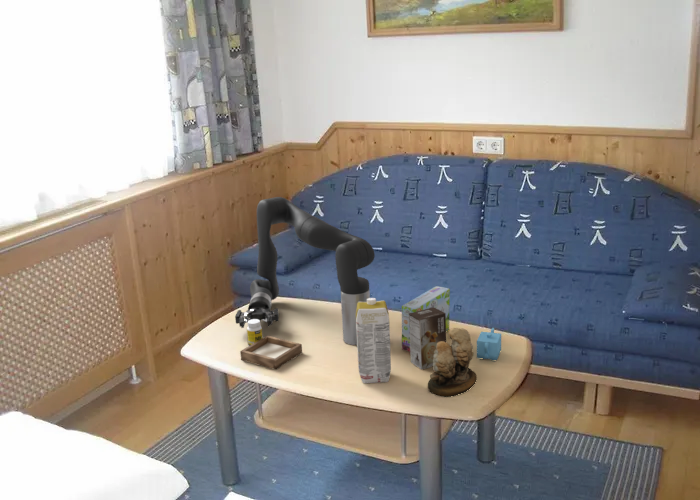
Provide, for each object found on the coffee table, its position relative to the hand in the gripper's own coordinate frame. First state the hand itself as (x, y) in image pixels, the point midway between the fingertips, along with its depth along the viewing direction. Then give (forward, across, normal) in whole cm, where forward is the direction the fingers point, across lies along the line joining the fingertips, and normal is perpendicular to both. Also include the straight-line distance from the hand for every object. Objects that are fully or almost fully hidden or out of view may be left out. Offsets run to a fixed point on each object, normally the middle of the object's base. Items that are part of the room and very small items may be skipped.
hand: (255, 324), depth 236 cm
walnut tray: (+12, +6, +6) cm, 15 cm away
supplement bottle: (+3, 0, +6) cm, 7 cm away
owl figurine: (+35, +59, +6) cm, 69 cm away
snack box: (+6, +55, +6) cm, 56 cm away
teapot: (+19, +73, +6) cm, 75 cm away
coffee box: (+22, +54, +6) cm, 58 cm away
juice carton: (+30, +37, +6) cm, 48 cm away
